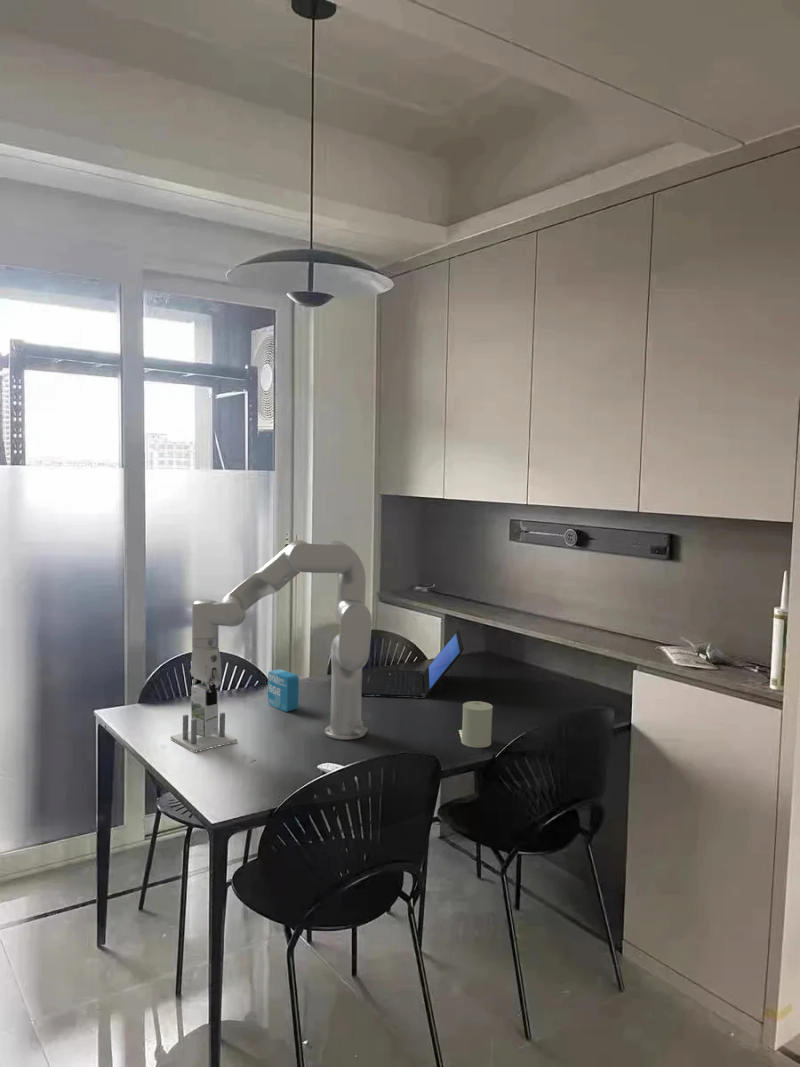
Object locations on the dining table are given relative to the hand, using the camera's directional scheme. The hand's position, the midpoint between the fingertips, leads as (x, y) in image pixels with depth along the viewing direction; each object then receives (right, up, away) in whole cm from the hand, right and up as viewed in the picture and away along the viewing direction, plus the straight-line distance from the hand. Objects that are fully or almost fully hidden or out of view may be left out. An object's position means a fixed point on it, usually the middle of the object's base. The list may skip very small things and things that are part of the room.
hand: (205, 701), depth 232 cm
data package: (+18, -10, +35) cm, 41 cm away
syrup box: (0, -10, +1) cm, 10 cm away
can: (+81, -14, +8) cm, 82 cm away
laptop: (+61, -9, +67) cm, 91 cm away
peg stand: (-1, -12, +1) cm, 12 cm away
